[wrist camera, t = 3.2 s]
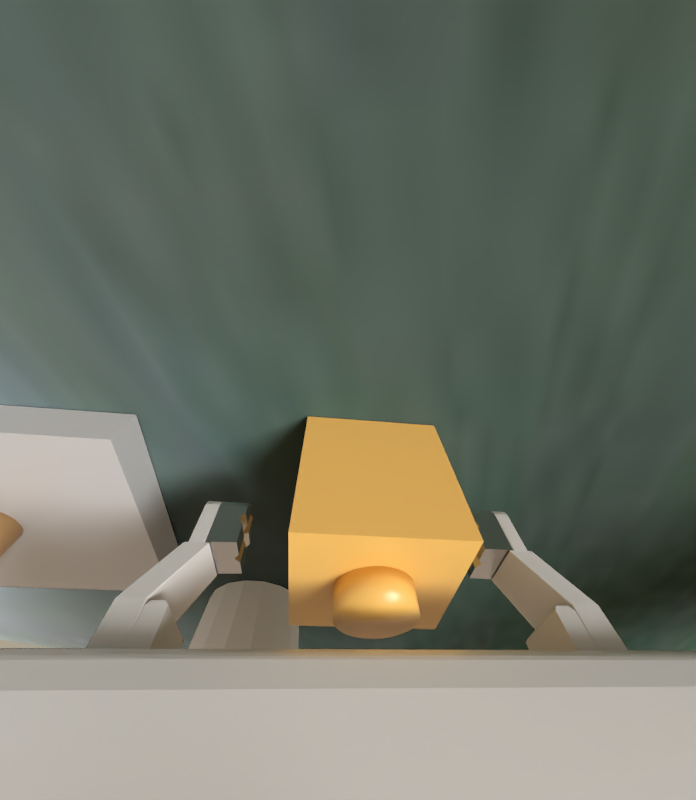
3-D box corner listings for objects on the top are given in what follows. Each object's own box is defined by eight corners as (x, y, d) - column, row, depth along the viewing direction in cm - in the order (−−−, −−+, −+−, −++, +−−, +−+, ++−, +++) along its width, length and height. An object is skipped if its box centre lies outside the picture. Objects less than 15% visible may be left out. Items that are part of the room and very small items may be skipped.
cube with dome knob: (433, 425, 12) (496, 572, 7) (408, 508, 15) (441, 658, 10) (307, 416, 12) (282, 564, 7) (304, 502, 14) (284, 655, 9)
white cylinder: (175, 592, 18) (96, 773, 13) (270, 562, 17) (231, 752, 11) (244, 636, 22) (207, 796, 16) (328, 614, 20) (322, 781, 14)
